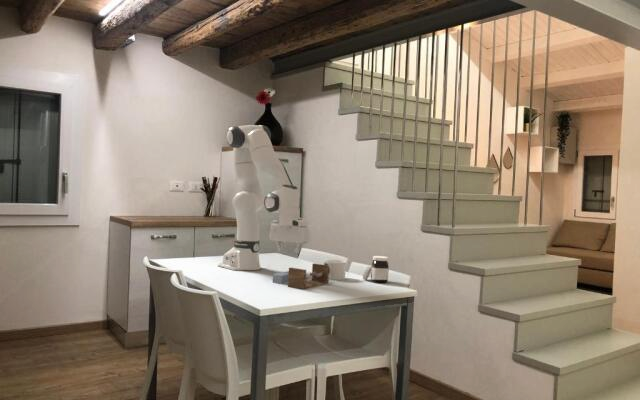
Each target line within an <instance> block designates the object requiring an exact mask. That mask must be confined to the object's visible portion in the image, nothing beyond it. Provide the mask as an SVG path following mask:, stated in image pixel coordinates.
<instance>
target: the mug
mask: <svg viewBox="0 0 640 400" xmlns="http://www.w3.org/2000/svg"><path fill="white" fill-rule="evenodd" d="M323 262H324V263H323V265H328V266H329V281H330V280H331V281H332V280H334V281H341V279H343V280H345V279H346V271H347V270H346V269H347V261H346V260H342V259H330V258H329V259H328V258H326V259H324V260H323Z"/></svg>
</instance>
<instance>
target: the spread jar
mask: <svg viewBox="0 0 640 400" xmlns="http://www.w3.org/2000/svg"><path fill="white" fill-rule="evenodd" d="M388 261H389V257H388V256H384V255H383V256H382V255H373V256H372V262H371V265H368V266H367V267H366V269H365V270H364V272H363V276H362V279H363V280H365V281H367V280H368V278H369V277H370V280H371V282H372V283H376V284H386V283H388V281H389V270H390V267H389V262H388Z"/></svg>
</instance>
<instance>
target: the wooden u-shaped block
mask: <svg viewBox="0 0 640 400" xmlns="http://www.w3.org/2000/svg"><path fill="white" fill-rule="evenodd" d="M288 271H289V276H288V283H287V287H289V288H295V289H300V290H307V289H310V288H311V289H312V288H315V287H319V286H320V287H321V286H324V285H328V284H329V281H330V279H329V266H328V265H324V264H320V263H312V267H311V272H310V273H309V275H310V276H311V279H309V276H308V275H307V269H303V268H296V267H289V268H288Z"/></svg>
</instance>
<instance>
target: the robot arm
mask: <svg viewBox="0 0 640 400" xmlns="http://www.w3.org/2000/svg"><path fill="white" fill-rule="evenodd" d="M271 134H272V133H271V131H270V128H269V127H268V126H265V125H262V124H258V125H256V124H248V125H239V126H237V125H233V126H231V127H229V128H228V129H227V131H226V141H227V144H228V146H229V147H231V148H233V151H232V160H233V161H232V162H233V170H234V179H235V181H236V184H237V186H238V189H239V192H238V193H236V194H235V195H234V197H232V207H233V208H234V211H235V212H234V213H235V219H236V240H232V243H233V247H232V248H231V249H229V250H228V251H227V252H225V253H224V255H222V262H220V263H218V264H217V267H220V268H224V269H228V270H232V271H256V270H261V267H262V266H261V263H260V253H259V250H260V240H259V239H260V223H259V220H258V213H257V212H259V211H261V210H262V209H263V208H265V211H267V212H269V213H272V214H279V218H278V219H279V220H276V219H275V220H272V221H271V223H270V228H269V229H270V230H269V240H270V241H272V242H275V244H276V247H277V251H278V252H283V251H284V247H283V246H282V242H284V243H293V244H296V248H294V254H300V252H301V251H300V249H301V248H302V247H303V244H308V243H309V242H310V228H309V227H308V226H309V225H310V223H309V221H308V220H306V219H304V218H302V217H300V211H299V210H300V208H301V205H302V200H301V196H300V191H299V187H298V186H296V185H293V182H292V180H291V178H290V176H289V173H288V172H287V169H286V167H285V165H284V164H283V163H282V161H280V160H279V157H278V156H277V154H276V153H275V150H274V146H273V144H272V141H271V137H272V135H271ZM257 169H258V170H260V171H262V172H265V173H267V174H269V175H270V176H272V177H274V179H276V181H277V183H278V185H279V188H278V189H276V190H274V191H271V192H268V193H267V194H266V195H265V197H264V194H263V192H262V187H261V185H260V182H259V177H258V171H257Z"/></svg>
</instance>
